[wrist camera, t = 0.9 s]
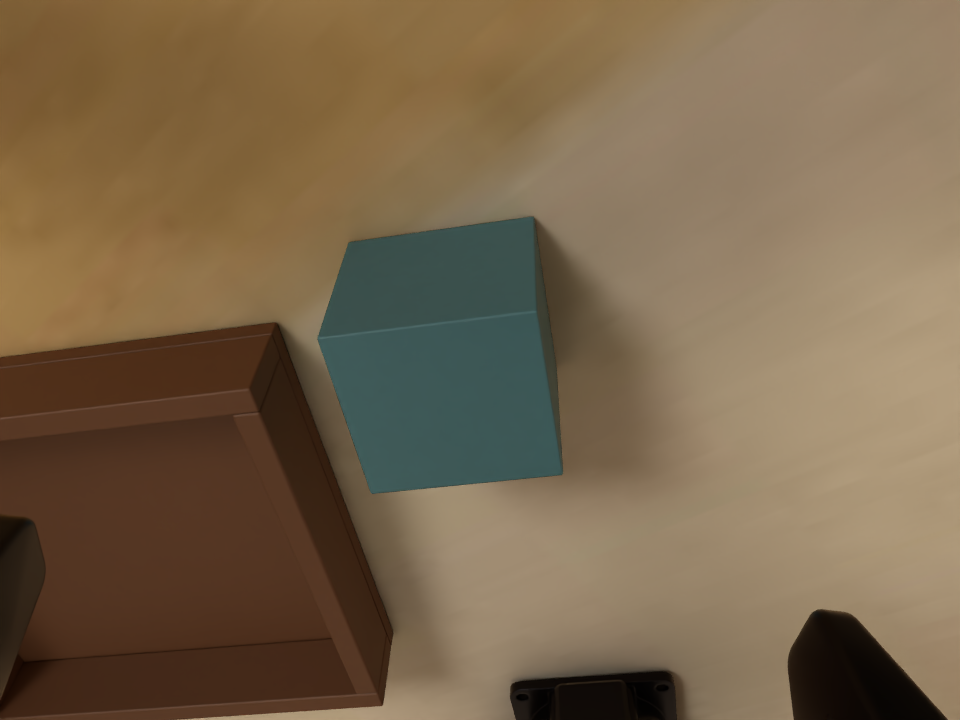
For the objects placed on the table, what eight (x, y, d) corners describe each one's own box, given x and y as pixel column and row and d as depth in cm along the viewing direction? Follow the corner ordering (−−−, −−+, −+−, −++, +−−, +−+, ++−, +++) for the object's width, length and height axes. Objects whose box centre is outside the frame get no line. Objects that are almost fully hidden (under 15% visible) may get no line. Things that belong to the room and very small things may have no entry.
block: (556, 367, 25) (563, 475, 21) (391, 386, 26) (370, 494, 22) (533, 215, 22) (537, 310, 19) (348, 241, 23) (316, 338, 19)
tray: (393, 632, 33) (383, 706, 30) (22, 661, 35) (-16, 733, 32) (276, 321, 24) (249, 388, 22) (-205, 383, 26) (-280, 451, 24)
